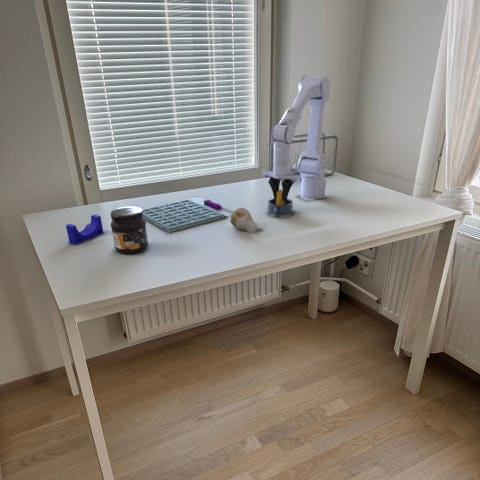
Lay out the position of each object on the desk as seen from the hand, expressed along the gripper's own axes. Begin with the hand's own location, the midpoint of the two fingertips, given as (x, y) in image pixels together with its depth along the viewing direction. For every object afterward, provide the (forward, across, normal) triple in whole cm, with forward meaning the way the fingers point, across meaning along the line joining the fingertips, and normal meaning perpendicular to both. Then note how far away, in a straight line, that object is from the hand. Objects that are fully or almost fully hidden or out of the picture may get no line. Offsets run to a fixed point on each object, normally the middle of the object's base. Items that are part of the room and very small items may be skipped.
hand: (280, 199), depth 168 cm
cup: (+5, 0, -1) cm, 5 cm away
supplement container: (+6, -25, -53) cm, 58 cm away
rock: (+6, -2, -21) cm, 22 cm away
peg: (+4, 0, 0) cm, 4 cm away
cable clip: (+6, -45, -54) cm, 70 cm away
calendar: (+6, -31, -18) cm, 36 cm away
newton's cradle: (+6, -16, +51) cm, 54 cm away
